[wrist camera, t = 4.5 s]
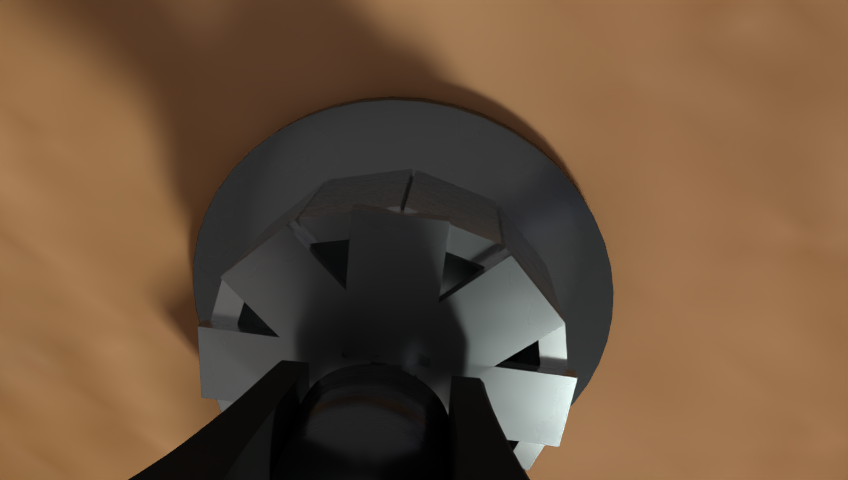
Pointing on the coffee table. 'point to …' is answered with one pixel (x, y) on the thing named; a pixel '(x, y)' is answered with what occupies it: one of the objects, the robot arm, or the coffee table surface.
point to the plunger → (367, 429)
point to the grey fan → (406, 262)
